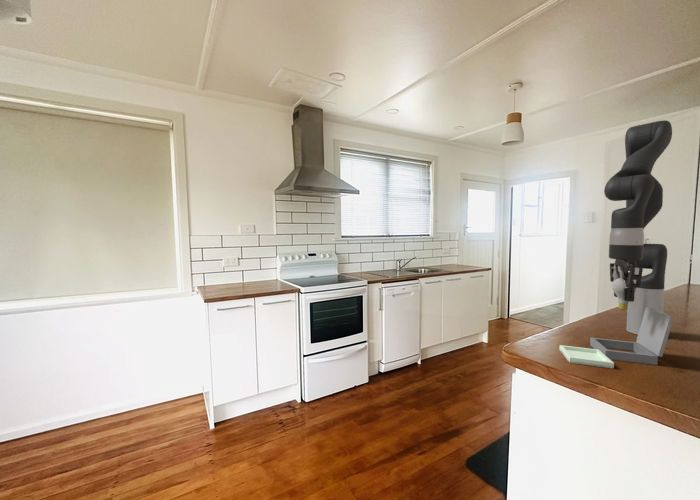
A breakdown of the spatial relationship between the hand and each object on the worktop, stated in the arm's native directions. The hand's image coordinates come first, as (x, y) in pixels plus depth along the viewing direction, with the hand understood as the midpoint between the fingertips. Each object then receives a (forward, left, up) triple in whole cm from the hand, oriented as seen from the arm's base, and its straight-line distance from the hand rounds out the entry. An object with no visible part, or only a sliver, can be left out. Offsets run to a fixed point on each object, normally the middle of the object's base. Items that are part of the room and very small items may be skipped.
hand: (623, 298), depth 88 cm
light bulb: (0, 0, -4) cm, 4 cm away
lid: (0, +7, -9) cm, 11 cm away
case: (0, 0, -17) cm, 17 cm away
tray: (+8, -12, -17) cm, 22 cm away
